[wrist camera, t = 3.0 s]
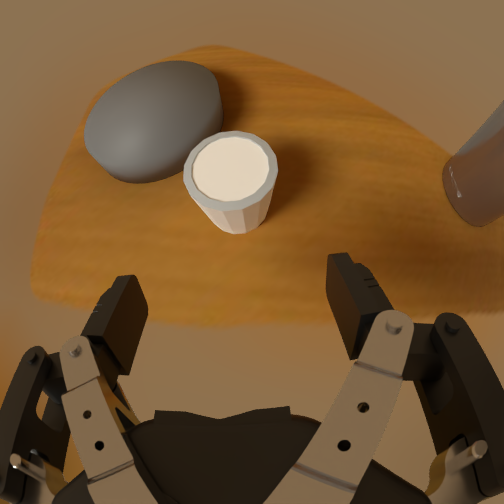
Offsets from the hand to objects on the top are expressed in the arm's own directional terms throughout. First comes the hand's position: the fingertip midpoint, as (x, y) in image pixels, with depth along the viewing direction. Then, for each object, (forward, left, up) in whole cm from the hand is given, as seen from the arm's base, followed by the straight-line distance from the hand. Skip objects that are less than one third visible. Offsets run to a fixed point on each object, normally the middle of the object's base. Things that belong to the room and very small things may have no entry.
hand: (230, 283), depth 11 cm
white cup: (+1, -9, -13) cm, 16 cm away
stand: (+11, -20, -13) cm, 26 cm away
